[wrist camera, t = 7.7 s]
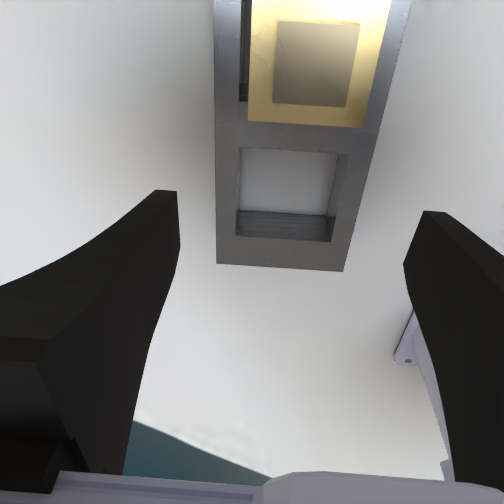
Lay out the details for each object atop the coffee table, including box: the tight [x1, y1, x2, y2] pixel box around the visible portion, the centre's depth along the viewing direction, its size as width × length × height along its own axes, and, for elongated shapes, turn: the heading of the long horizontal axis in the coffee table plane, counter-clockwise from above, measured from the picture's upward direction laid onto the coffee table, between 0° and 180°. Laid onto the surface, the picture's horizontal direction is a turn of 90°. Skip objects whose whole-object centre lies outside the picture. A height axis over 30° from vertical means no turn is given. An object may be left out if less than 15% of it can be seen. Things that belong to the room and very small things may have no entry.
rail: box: [213, 0, 412, 272], centre depth 18 cm, size 7×16×2 cm, turn 177°
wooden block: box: [248, 0, 391, 128], centre depth 15 cm, size 4×4×6 cm
